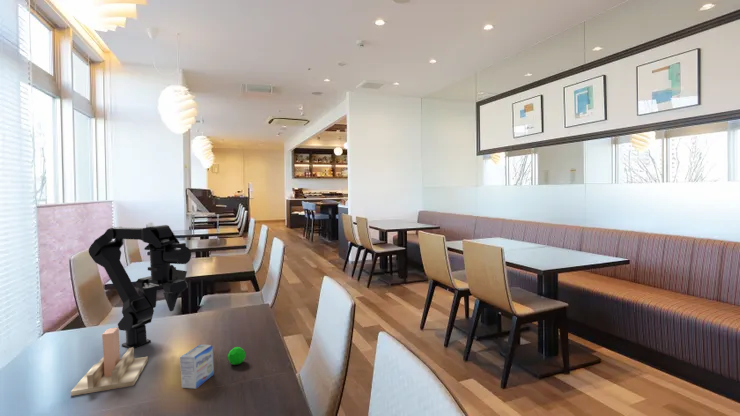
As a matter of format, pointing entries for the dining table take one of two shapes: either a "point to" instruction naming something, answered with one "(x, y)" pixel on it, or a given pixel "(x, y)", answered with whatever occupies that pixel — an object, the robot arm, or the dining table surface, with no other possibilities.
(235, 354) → the polyhedron
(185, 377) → the medicine box
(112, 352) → the pink rectangular block
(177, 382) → the dining table surface
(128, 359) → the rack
